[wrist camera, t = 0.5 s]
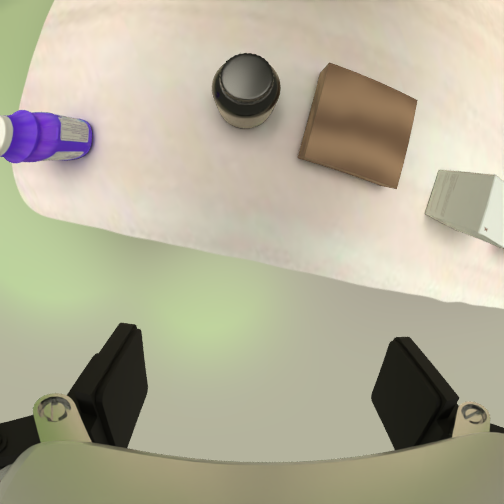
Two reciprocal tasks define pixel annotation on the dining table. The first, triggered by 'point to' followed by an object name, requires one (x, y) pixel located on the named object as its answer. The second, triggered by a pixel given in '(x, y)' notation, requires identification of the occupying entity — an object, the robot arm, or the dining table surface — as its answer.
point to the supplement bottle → (246, 90)
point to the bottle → (43, 137)
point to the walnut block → (358, 126)
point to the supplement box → (469, 204)
